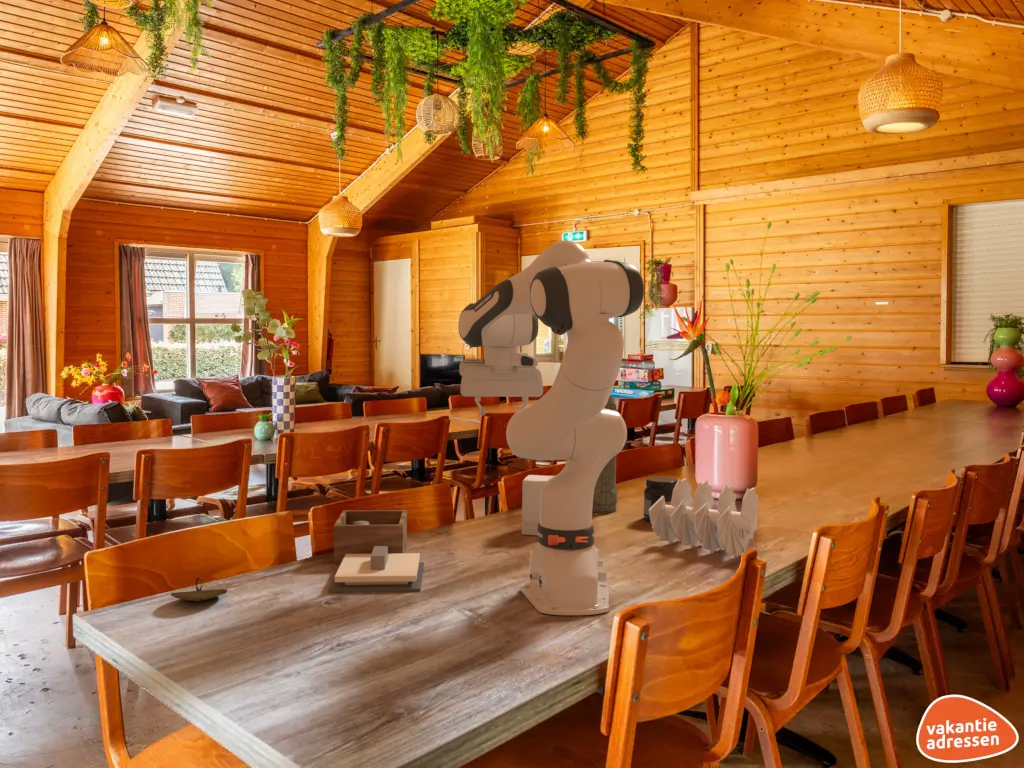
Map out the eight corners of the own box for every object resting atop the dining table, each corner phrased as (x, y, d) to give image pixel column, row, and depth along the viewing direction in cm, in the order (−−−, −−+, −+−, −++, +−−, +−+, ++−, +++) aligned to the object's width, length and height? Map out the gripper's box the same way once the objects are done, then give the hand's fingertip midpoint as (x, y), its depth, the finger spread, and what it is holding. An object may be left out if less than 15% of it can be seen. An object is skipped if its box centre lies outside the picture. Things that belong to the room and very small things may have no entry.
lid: (168, 614, 153) (168, 588, 153) (173, 597, 162) (172, 573, 162) (227, 608, 156) (226, 583, 156) (228, 592, 166) (227, 569, 165)
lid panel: (416, 586, 169) (416, 561, 168) (334, 587, 167) (334, 562, 167) (419, 563, 185) (419, 540, 185) (345, 564, 184) (345, 541, 184)
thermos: (612, 515, 238) (614, 398, 236) (578, 509, 245) (580, 396, 243) (626, 510, 245) (628, 396, 243) (593, 504, 252) (595, 394, 250)
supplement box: (553, 537, 213) (554, 481, 212) (520, 535, 214) (521, 480, 213) (558, 528, 221) (559, 475, 220) (527, 527, 223) (527, 474, 222)
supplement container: (686, 522, 231) (687, 481, 230) (655, 525, 227) (656, 483, 226) (666, 514, 240) (667, 475, 239) (636, 517, 236) (637, 477, 236)
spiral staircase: (669, 553, 213) (761, 566, 197) (640, 537, 200) (736, 549, 184) (681, 487, 218) (771, 495, 203) (653, 467, 205) (747, 474, 190)
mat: (420, 591, 167) (420, 588, 167) (328, 592, 166) (328, 589, 166) (423, 564, 186) (423, 562, 186) (341, 565, 185) (341, 563, 185)
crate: (402, 563, 188) (402, 525, 187) (333, 563, 186) (333, 525, 186) (406, 544, 203) (406, 510, 203) (343, 545, 202) (343, 510, 202)
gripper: (459, 358, 191) (459, 416, 192) (544, 359, 192) (543, 416, 193) (459, 357, 197) (458, 413, 198) (541, 358, 199) (540, 413, 200)
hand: (501, 415), depth 196 cm, fingers open, 8 cm apart
